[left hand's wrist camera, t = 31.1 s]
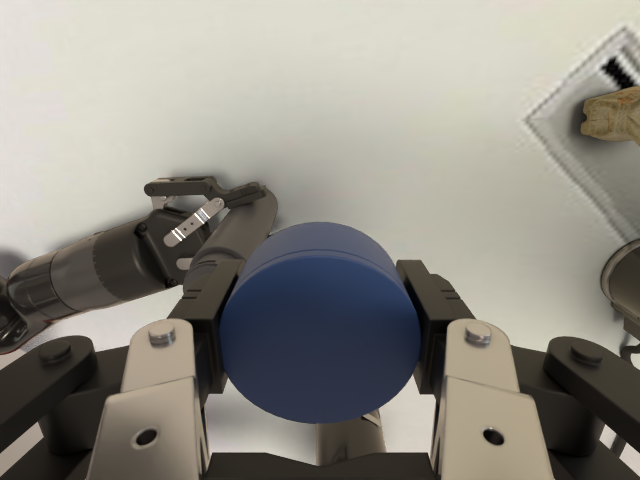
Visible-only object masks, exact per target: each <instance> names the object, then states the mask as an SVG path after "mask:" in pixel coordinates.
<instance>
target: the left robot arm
mask: <svg viewBox="0 0 640 480" xmlns="http://www.w3.org/2000/svg"><path fill="white" fill-rule="evenodd" d="M244 265H245V261H244V260H221V261H220V262H219V264H218V265H217V267H216V269H215V270H214V272H213V273H212V274H204V275H202V276H201V277H199V278H198V279H196V280H195V281H193V282H192V284H191V285H190V287H189V288H188V289H187V292H185V293H184V295H183V296H182V299H180V300H179V302H178V303H177V305H176V306H175V307H174V309H173V310H172V312H171V313H170V314H169V316H168V317H167V319H164V320H159V321H156V322H153V323H150V324H148V325H146V326H144V327H143V328H141V329H139V330H138V331H137V332H136V333H135V334H134V335H133V337H132V338H131V341H130V345H128V346H124V347H120V348H114V349H109V350H104V351H99V352H95V349H94V346H93V343H92V340H91V339H90V338H88V337H85V336H78V335H77V336H66V337H61V338H57V339H54V340H51V341H48V342H46V343H43V344H41V345H39V346H37V347H36V348H34V349H32V350H31V351H29V352H27V353H26V354H24V355H23V356H21V357H20V358H18V359H17V360H15V361H14V362H12V363H11V364H9V365H8V366H6V367H5V368H3V369H2V370H0V453H1V452H2V451H4V450H5V449H6V448H7V447H8V446H9V445H10V444H12V443H13V442H14V441H15V440H16V439H17V438H19V437H20V436H21V435H22V434H23V433H25V432H26V431H27V430H28V429H29V428H30V427H32V426H33V425H34V424H35V423H36V422H37V421H38V423H39V426H40V428H41V431H42V433H43V436H44V437H43V438H42V439H41V440H40V441H39V442H38V443H37V444H36V445H35V446H34V447H33V448H31V449H30V450H29V451H28V452H27V453H26V454H25V455H24V456H23V457H22V458H21V459H20V460H18V461H17V462H16V463H15V464H14V465H13V466H12V467H11V468H10V469H8V470H7V471H6V472H5V473H4V474H3V475H2V476H1V477H0V480H85V479H86V480H554V479H555V480H640V477H639V476H638V475H637V474H636V473H635V472H634V471H633V470H632V469H630V468H629V467H628V466H627V465H626V464H625V463H624V462H623V461H622V460H621V459H619V457H620V455H621V453H622V451H623V449H624V447H625V445H626V442H627V443H628V444H629V445H631V446H632V447H633V448H634V449H635V450H636V451H638V452H639V453H640V370H639V369H637V368H636V367H634V366H633V364H632V362H631V358H630V356H631V353H634V354H639V353H640V344H638V345H637V346H625V347H624V348H623V350H622V352H621V358H620V357H619V356H617V355H616V354H614V353H613V352H611V351H609V350H608V349H606V348H604V347H602V346H600V345H598V344H596V343H593V342H591V341H588V340H584V339H581V338H576V337H566V336H563V337H556V338H554V339H552V340H551V341H550V342H549V345H548V348H547V352H541V351H536V350H531V349H525V348H520V347H516V346H513V345H510V341H509V338H508V337H507V335H506V334H505V333H504V332H503V331H502V330H501V329H499V328H497V327H496V326H494V325H492V324H490V323H487V322H484V321H481V320H476V318H475V317H474V315H473V314H472V313H471V311H470V310H469V309H468V307H467V306H466V305H465V303H464V302H463V300H461V299H460V296H459V295H458V294H457V292H455V289H454V288H453V287H452V285H451V284H450V283H449V281H447V280H445V279H444V278H442V277H441V276H439V275H438V274H430V273H429V272H428V270H427V269H426V267H425V266H424V264H423V263H422V261H421V260H398V261H397V263H396V269H397V272H398V274H399V276H400V278H401V280H402V282H403V284H404V287H405V289H406V291H407V293H408V295H409V297H410V300H411V302H412V304H413V306H414V308H415V310H416V313H417V316H418V319H419V322H420V328H421V349H420V356H419V359H418V363H417V366H416V368H415V370H414V372H413V376H414V379H415V382H416V384H417V387H418V390H419V393H420V394H434V396H435V399H436V404H435V411H434V420H433V431H432V442H431V454H430V459H429V456H428V453H371V454H367V455H363V456H360V457H356V458H352V459H348V460H344V461H340V462H336V463H333V464H329V465H324V466H316V465H311V464H307V463H304V462H300V461H296V460H292V459H288V458H284V457H280V456H277V455H273V454H269V453H212V456H211V459H210V454H209V442H208V431H207V420H206V411H205V402H206V400H207V397H208V395H209V394H223V391H224V388H225V385H226V382H227V379H228V376H227V374H226V372H225V370H224V364H223V356H222V348H221V340H220V332H219V323H220V318H221V316H222V313H223V311H224V308H225V306H226V304H227V302H228V300H229V297H230V295H231V293H232V291H233V289H234V287H235V285H236V282H237V280H238V278H239V276H240V274H241V272H242V270H243V267H244ZM602 289H603V292H604V293H605V295H606V296H607V297H608V298H609V299H610V300H611V301H612V307H613V308H615V309H616V310H618V311H619V312H620V313H622V314H623V315H625V317H624V327H623V329H624V330H626V331H627V332H628V333H630V334H631V335H632V336H634V337H635V338H637V339H638V340H639V341H640V240H637V241H634V242H632V243H630V244H628V245H627V246H625V247H623V248H622V249H621V250H619V251H618V252H617V253H616V254H615V255H614V256H613V257H612V258H611V259H610V261H609V262H608V264H607V265H606V267H605V269H604V272H603V275H602ZM605 424H606V425H607V426H608V427H610V428H611V429H612V430H613V431H614V432H615V433H617V434H618V435H619V438H618V440H617V442H616V445H615V447H614V449H613V451H611V450H610V449H609V448H607V447H606V446H605V445H604V444H603V443H602V442H601V441H600V440H599V439H600V436H601V434H602V431H603V429H604V426H605Z"/></svg>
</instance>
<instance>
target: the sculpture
mask: <svg viewBox="0 0 640 480" xmlns="http://www.w3.org/2000/svg"><path fill="white" fill-rule="evenodd" d="M583 113H584V114H586V115H587V120H586V121H584V122H582V123H581V134H583V135H590V136H592V137H595V138H598V139H602V140H608V141H629V140H634V141H635V142H636V143H637V144H638V145H639V146H640V86H635V87H630V88H626V89H623V90H620V91H616V92H613V93H610V94H606V95H602V96H598V97H595V98H590V99H588V100H586V101H585V103H584V107H583Z"/></svg>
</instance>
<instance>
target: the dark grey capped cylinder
mask: <svg viewBox="0 0 640 480" xmlns="http://www.w3.org/2000/svg"><path fill="white" fill-rule="evenodd" d="M277 210H278V203H277V200H276V198H275V196H274V195H273V194H272V192H270V191H269V190H268V194H267V196H266V197H264V198H261V199H258V200H255V201H253V202H250V203H247V204H244V205H241V206H238V207H235V208H232V209H231V210H230V211H229V213H228V214H227V215H226V216H225V218H224V219H223V220H222V222H221V223H220V224H219V225H218V227H217V228H216V229H215V231H214V232H213V233H212V234H211V236H210V237H209V238H208V240H207V241H206V242H205V243H204V245H203V246H202V247H201V248H200V250H199V251H198V252H197V254H196V255H195V256H194V257H193V259H192V261H191V263H190V267H189V270H188V272H187V273H186V274H185V275H186V276H185V278H184V283H183V293H185V292H187V289H188V288H189V287H190V285H191V284H192V282H193V281H195V280H196V279H198V278H199V277H201V276H202V275H204V274H212V273H213V272H214V270H215V269H216V267H217V265H218V264H219V262H220V261H221V260H244V261H245V263H246V262H247V260H248V258H249V257H250V255H251V254H252V253H253V252H254V250H255V249H256V248H257V247H258V246H259V245H260V244H261V243H262V242H263V241H265V240H266V239H267V238H268V236H269V233H270V230H271V227H272V224H273V222H274V219H275V216H276V213H277Z"/></svg>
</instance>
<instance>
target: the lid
mask: <svg viewBox="0 0 640 480" xmlns="http://www.w3.org/2000/svg"><path fill="white" fill-rule="evenodd" d="M219 332H220V340H221V348H222V356H223V364H224V370H225V372H226V374H227V376H228V377H229V379H230V381H231V382H232V384H233V385H234V386H235V387H236V389H237V390H238V391H239V392H240V393H241V394H242V395H243V396H244V397H245V398H246V399H248V400H249V401H250V402H252V403H253V404H254V405H256V406H258V407H259V408H261V409H263V410H264V411H266V412H269V413H271V414H273V415H275V416H278V417H281V418H284V419H287V420H291V421H296V422H302V423H310V424H327V423H337V422H343V421H348V420H351V419H355V418H358V417H361V416H363V415H366V414H369V413H371V412H372V411H374V410H376V409H378V408H380V407H381V406H383V405H384V404H386V403H387V402H389V401H390V400H391V399H392V398H393V397H395V396H396V395H397V394H398V393H399V392H400V391H401V390H402V388H403V387H404V386H405V385H406V383H407V382H408V381H409V379H410V378H411V376H412V374H413V372H414V370H415V368H416V366H417V363H418V359H419V356H420V349H421V328H420V322H419V319H418V316H417V313H416V310H415V308H414V306H413V304H412V302H411V300H410V297H409V295H408V293H407V291H406V289H405V287H404V284H403V282H402V280H401V278H400V276H399V274H398V272H397V269H396V267H395V265H394V263H393V261H392V260H391V258H390V257H389V255H388V254H387V253H386V251H385V250H384V249H383V248H382V247H381V246H380V245H379V244H378V243H377V242H375V241H374V240H373V239H372V238H370V237H369V236H367V235H366V234H364V233H362V232H360V231H358V230H356V229H353V228H351V227H348V226H345V225H341V224H336V223H330V222H311V223H303V224H298V225H294V226H291V227H288V228H286V229H283V230H281V231H279V232H277V233H275V234H273V235H272V236H270V237H269V238H267V239H266V240H265V241H263V242H262V243H261V244H260V245H259V246H258V247H257V248H256V249H255V250H254V252H253V253H252V254H251V255H250V257H249V258H248V260H247V262H246V263H245V265H244V267H243V270H242V272H241V274H240V276H239V278H238V280H237V282H236V285H235V287H234V289H233V291H232V293H231V295H230V297H229V300H228V302H227V304H226V306H225V308H224V311H223V313H222V316H221V318H220V323H219Z"/></svg>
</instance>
